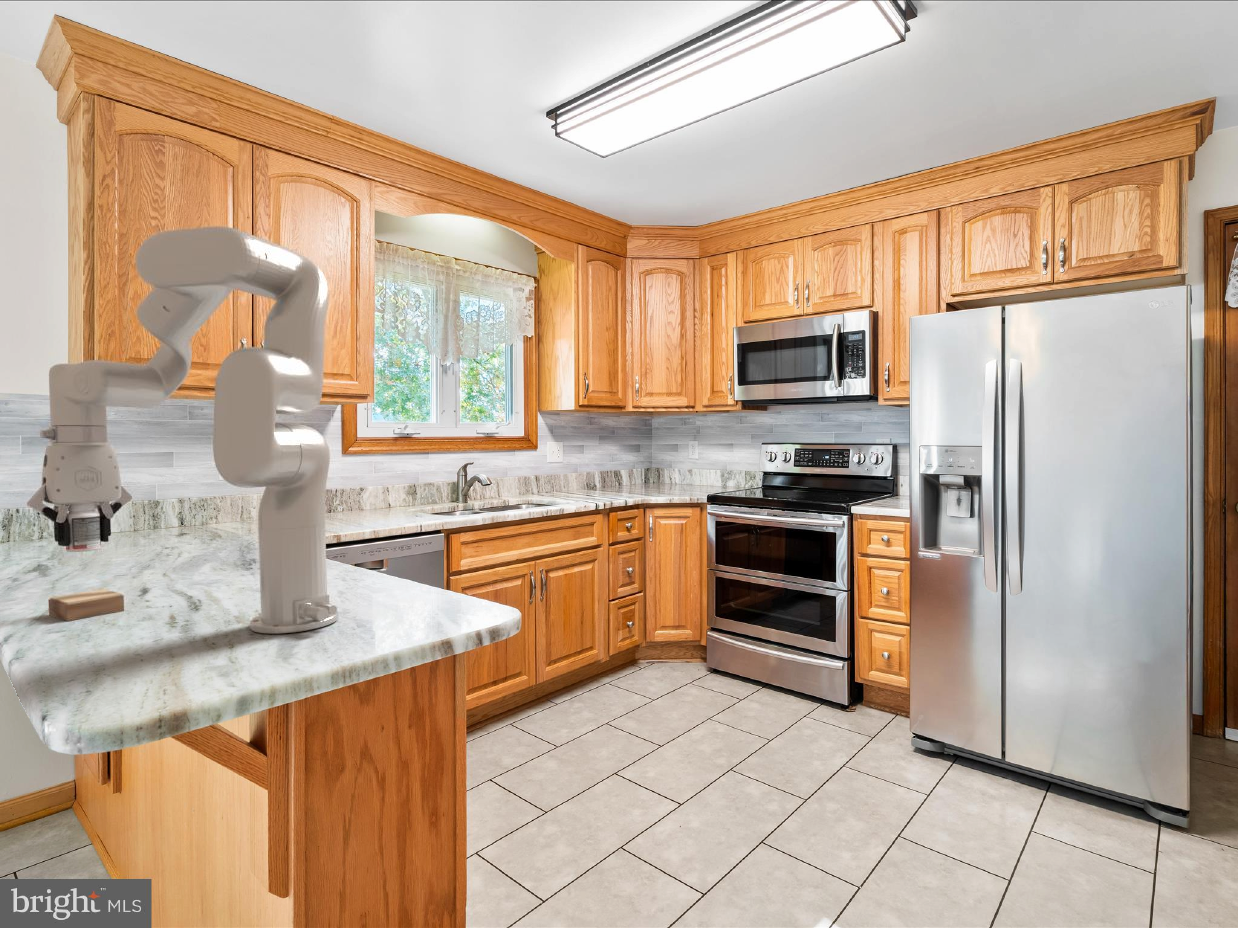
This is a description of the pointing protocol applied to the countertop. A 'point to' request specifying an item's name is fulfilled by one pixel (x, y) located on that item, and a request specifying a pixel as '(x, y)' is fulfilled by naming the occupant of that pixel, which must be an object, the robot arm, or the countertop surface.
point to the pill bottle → (83, 528)
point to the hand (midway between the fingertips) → (83, 542)
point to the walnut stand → (85, 604)
